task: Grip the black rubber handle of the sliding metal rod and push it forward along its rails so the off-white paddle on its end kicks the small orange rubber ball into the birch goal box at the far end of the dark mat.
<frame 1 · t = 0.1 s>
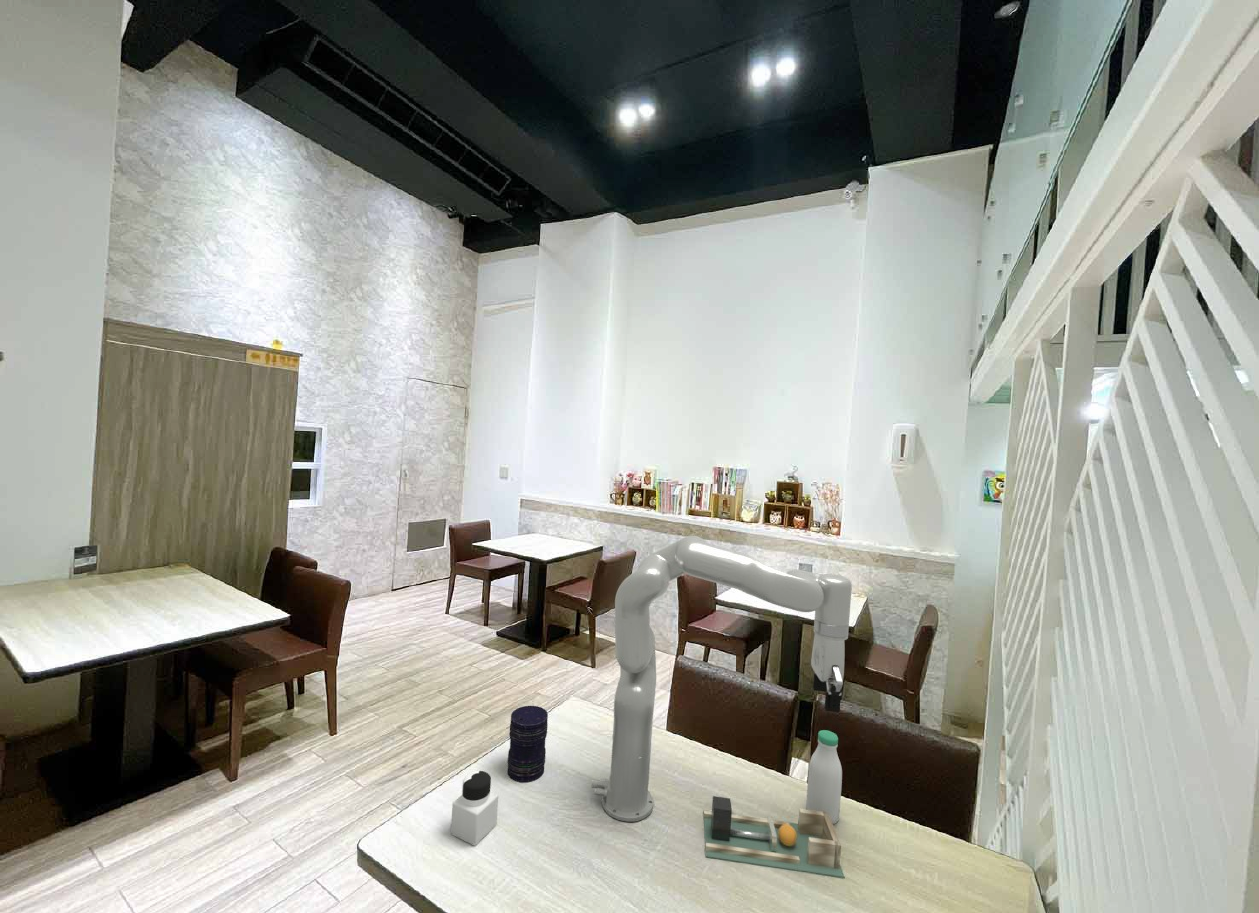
hand: (825, 700, 119), 31 cm above the table, fingers open, 9 cm apart
rails: (748, 838, 115), resting on mat
goal: (816, 847, 113), resting on mat
milk bottle: (822, 814, 125), on the table
medicine bottle: (473, 830, 112), on the table
mat: (768, 842, 115), on the table
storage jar: (525, 771, 134), on the table
ball: (787, 835, 114), point 2 cm above the table, touching mat
kicker: (743, 821, 115), point 4 cm above the table, slide at 0.0 cm
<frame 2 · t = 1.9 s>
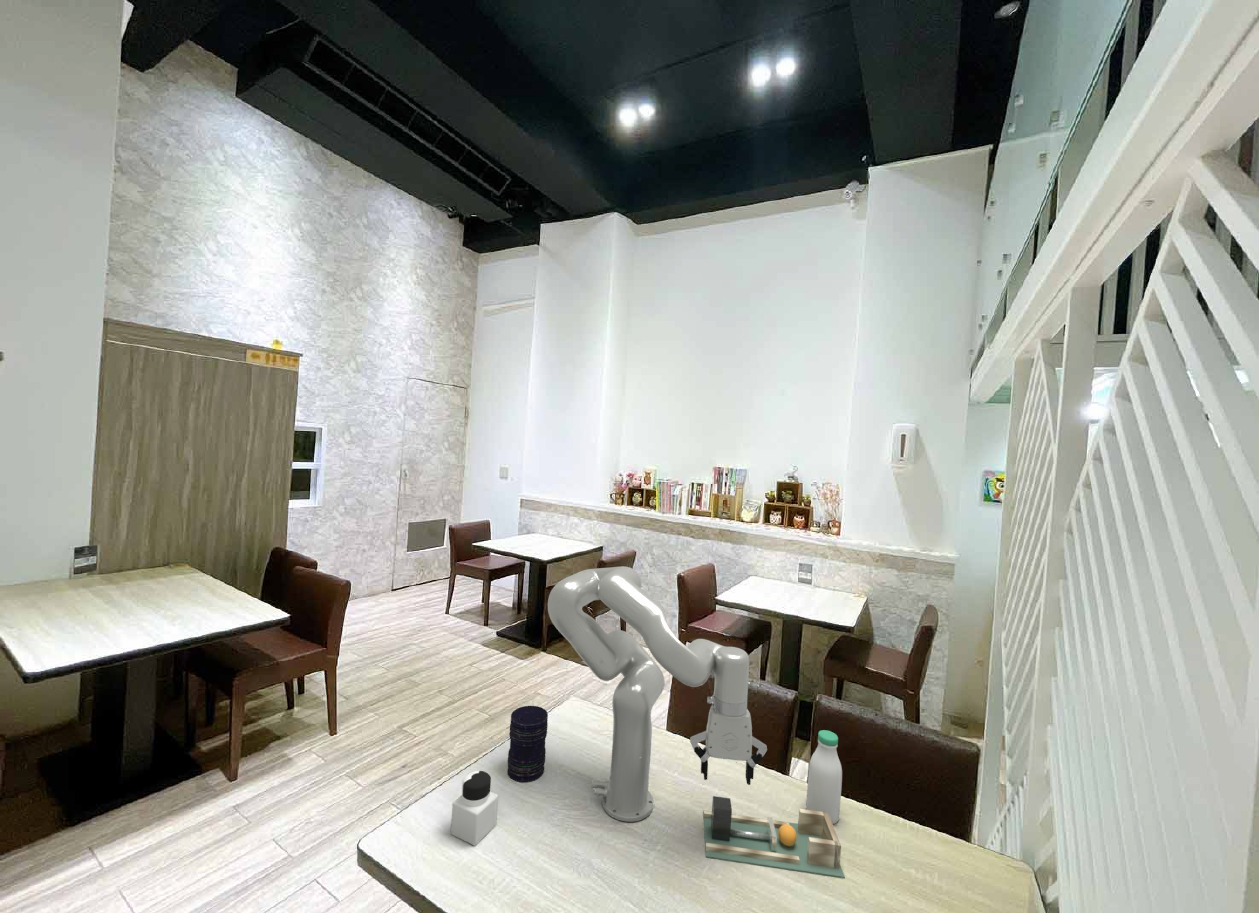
hand: (726, 778, 115), 13 cm above the table, fingers open, 9 cm apart
nothing on the table moved.
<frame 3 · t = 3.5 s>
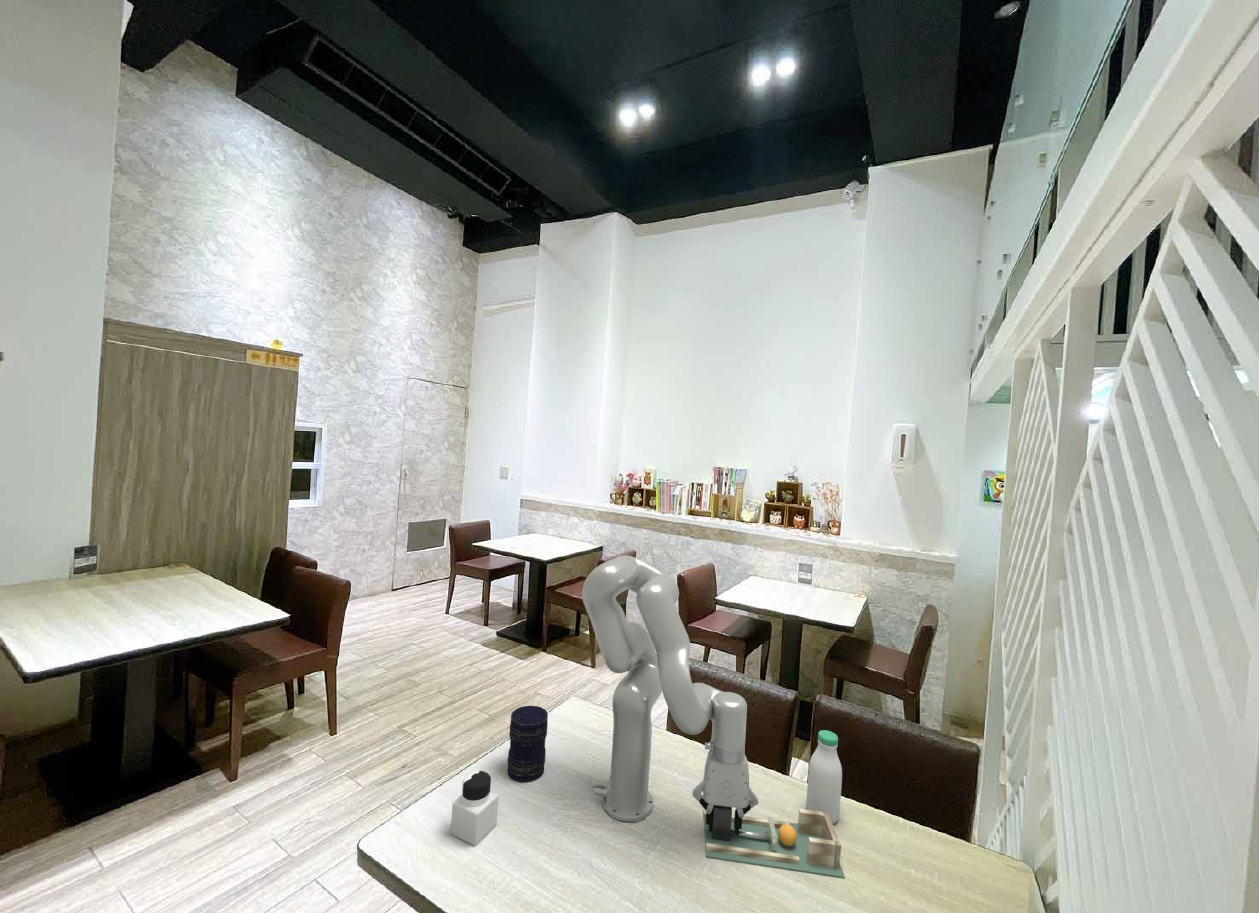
hand: (723, 828, 115), 2 cm above the table, fingers closed on kicker, 5 cm apart
kicker: (743, 821, 115), point 4 cm above the table, slide at 0.0 cm, touching gripper
everything else where it was.
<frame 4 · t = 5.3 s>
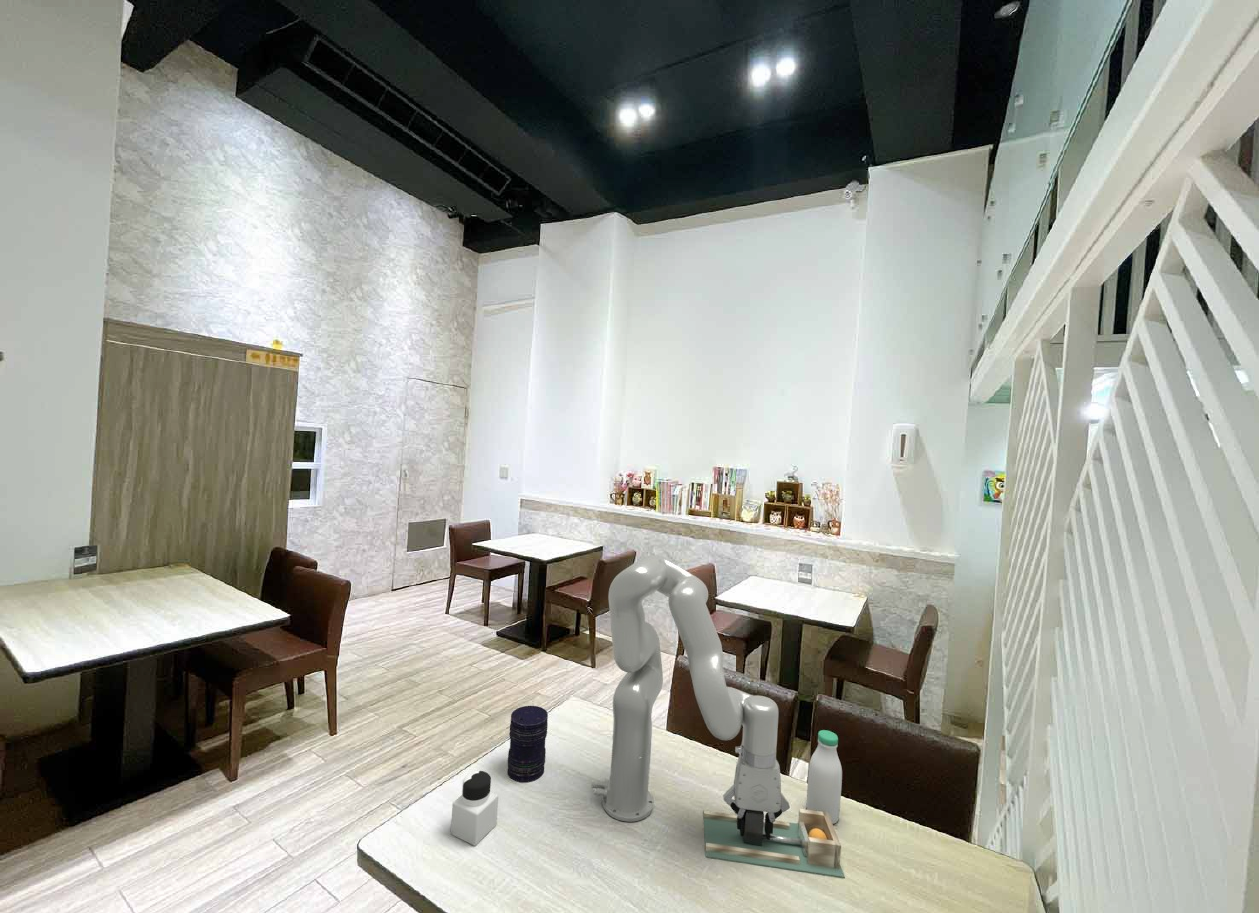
hand: (754, 832, 115), 2 cm above the table, fingers closed on kicker, 5 cm apart
ball: (817, 839, 113), point 2 cm above the table, tilted 171°, touching mat
kicker: (775, 825, 114), point 4 cm above the table, slide at 7.1 cm, touching gripper
everything else where it was.
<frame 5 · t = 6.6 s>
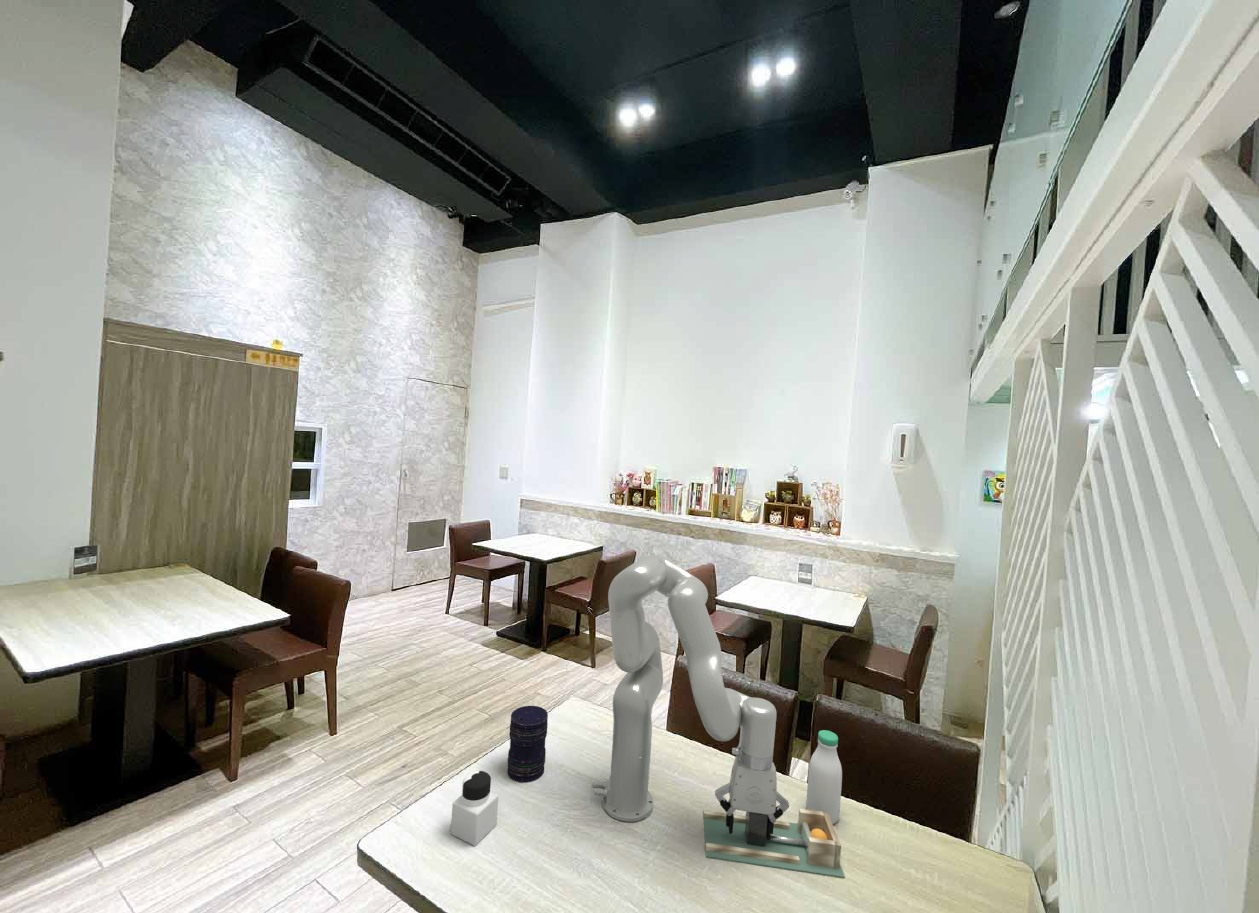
hand: (748, 831, 115), 2 cm above the table, fingers open, 7 cm apart
ball: (818, 839, 113), point 2 cm above the table, tilted 167°, touching goal, kicker, mat
kicker: (778, 826, 114), point 4 cm above the table, slide at 7.9 cm, touching ball, gripper
everything else where it was.
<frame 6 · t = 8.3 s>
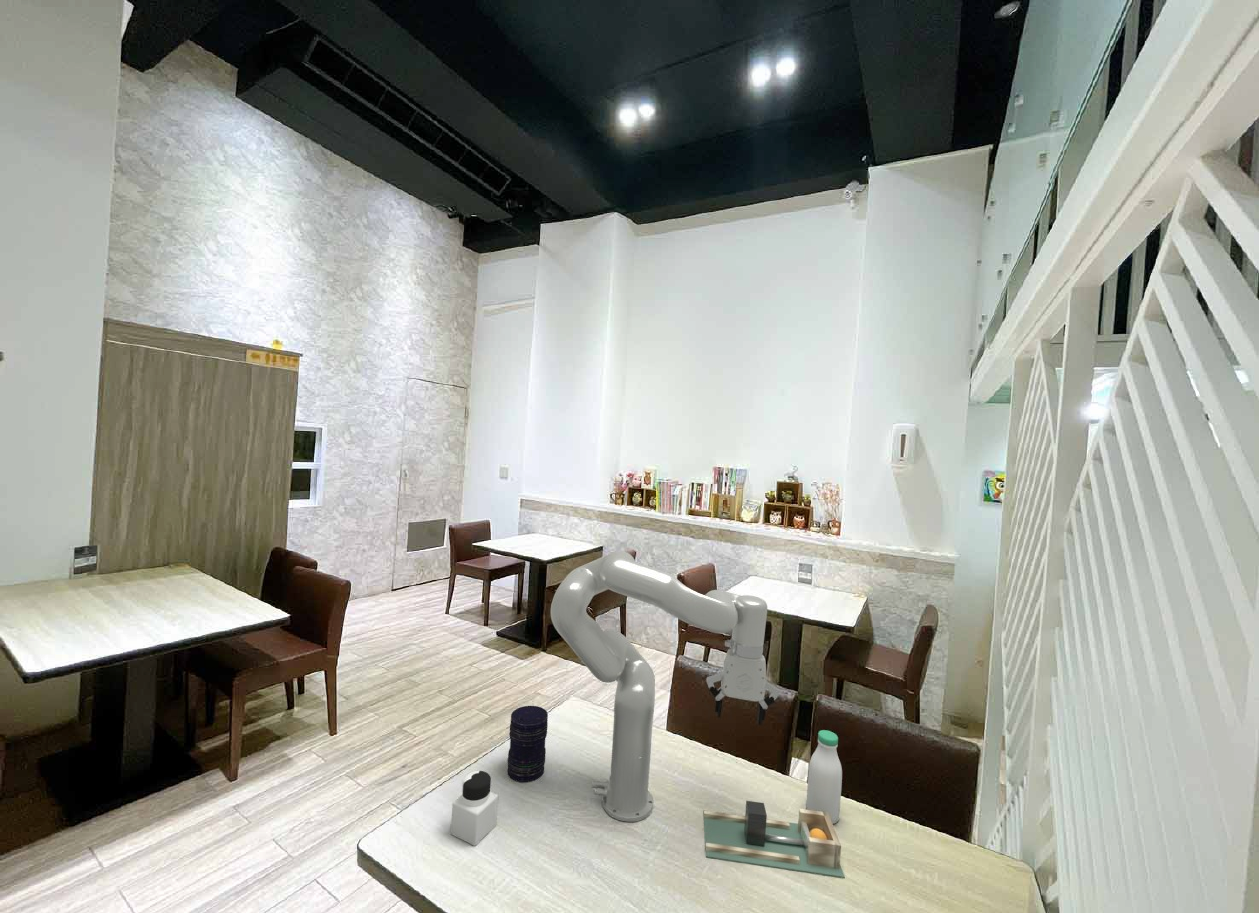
hand: (738, 718, 122), 24 cm above the table, fingers open, 9 cm apart
ball: (817, 839, 113), point 2 cm above the table, tilted 171°, touching mat
kicker: (777, 826, 114), point 4 cm above the table, slide at 7.7 cm
everything else where it was.
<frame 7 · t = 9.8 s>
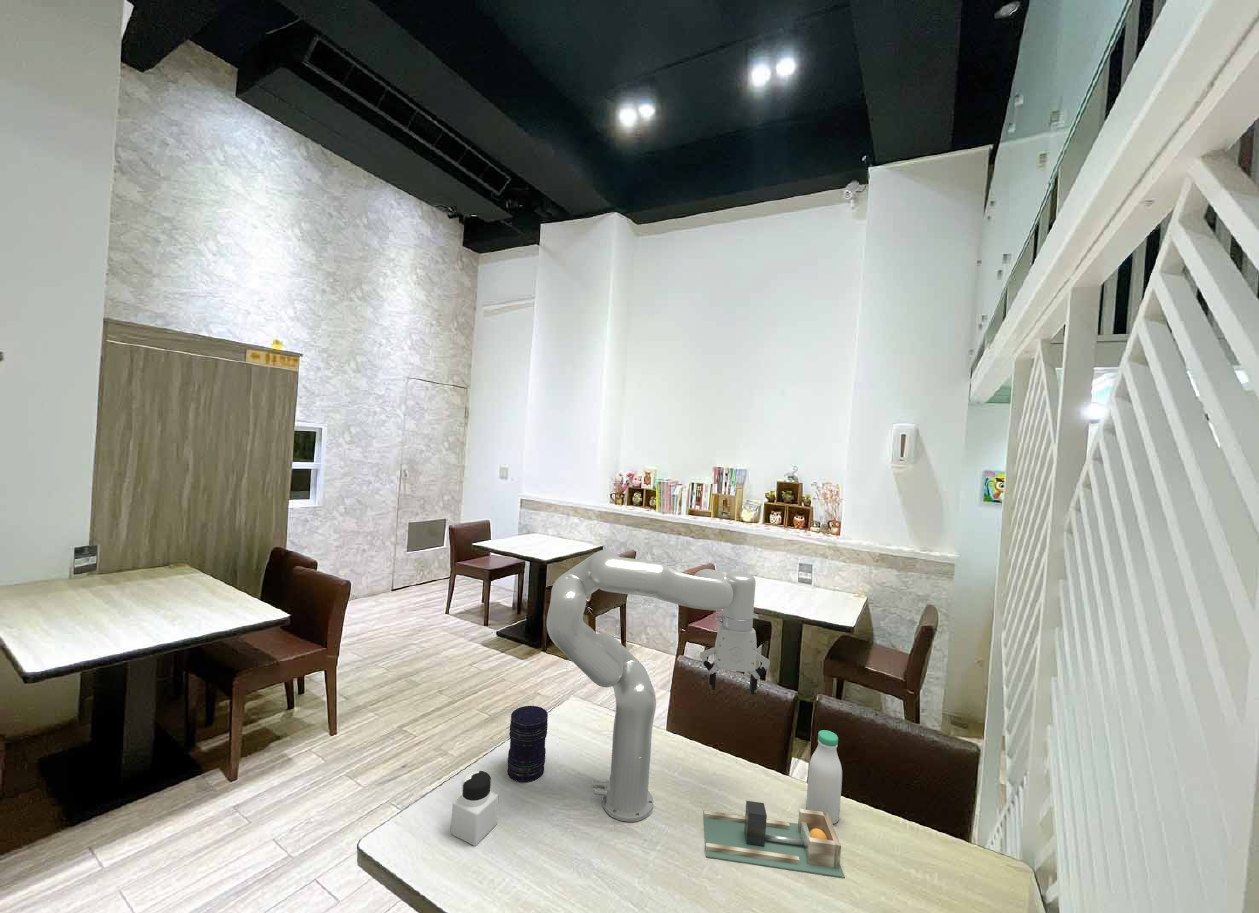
hand: (732, 689, 127), 28 cm above the table, fingers open, 9 cm apart
nothing on the table moved.
at the end: ball inside the target area (0.5 cm from its centre), point 2.3 cm above the table; kicker slide at 7.7 cm; the gripper is holding nothing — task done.
